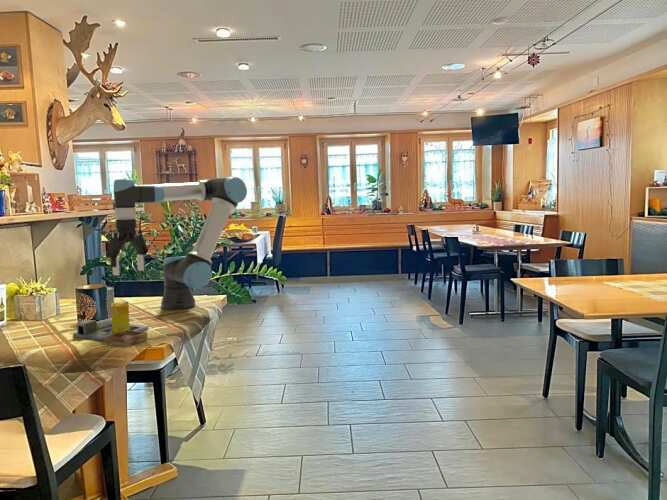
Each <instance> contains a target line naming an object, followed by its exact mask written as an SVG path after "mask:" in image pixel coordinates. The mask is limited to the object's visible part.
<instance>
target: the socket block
mask: <svg viewBox="0 0 667 500" xmlns="http://www.w3.org/2000/svg"><path fill="white" fill-rule="evenodd" d="M96 322H97V321H96V320H91V319H86V320H82V321H79V322H78V321H77V322H76V332H73V333H72V336H73V337H74V338H79V337H80V338H81V339H85V338H86V339H87V340H91V339H93V341H98V340H100V341H99V342H104V341H105V336H108V335H111V334H114V333H113V329H112V324H111V325H108V326H104V327H101V328H97V325H96ZM130 330H133V331H140V332H146V331H148V330H149V326H146V325H138V324H133V323H132V324H131V323H130ZM86 339H85V340H86Z"/></svg>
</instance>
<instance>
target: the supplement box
mask: <svg viewBox="0 0 667 500" xmlns="http://www.w3.org/2000/svg"><path fill="white" fill-rule="evenodd" d="M129 307H130V306H129V302H128V301H122V302H121V301H120V302H114V303H111V314H112V329H113V331H112V333H118V332H121V331H124V330H131V329H130V324H131V323H130V309H129Z"/></svg>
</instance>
